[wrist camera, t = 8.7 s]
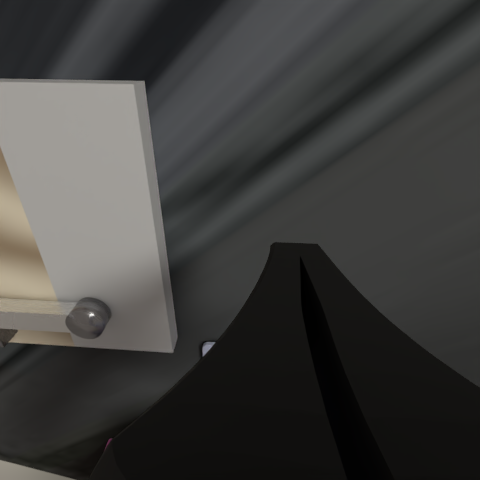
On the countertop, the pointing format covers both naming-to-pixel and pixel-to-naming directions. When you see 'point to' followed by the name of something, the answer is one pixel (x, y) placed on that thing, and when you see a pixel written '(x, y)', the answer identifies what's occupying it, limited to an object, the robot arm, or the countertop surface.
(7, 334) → the block
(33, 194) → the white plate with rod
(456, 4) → the countertop surface
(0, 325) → the bar
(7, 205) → the door panel
